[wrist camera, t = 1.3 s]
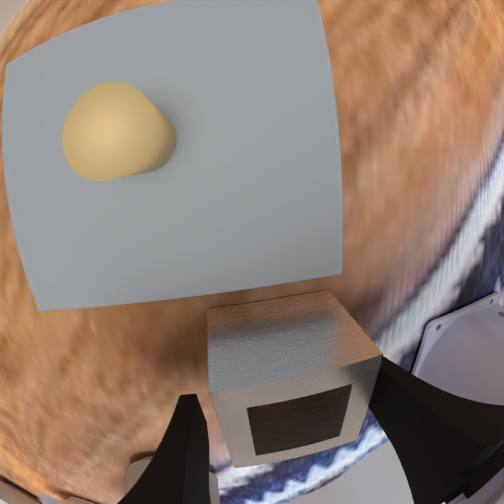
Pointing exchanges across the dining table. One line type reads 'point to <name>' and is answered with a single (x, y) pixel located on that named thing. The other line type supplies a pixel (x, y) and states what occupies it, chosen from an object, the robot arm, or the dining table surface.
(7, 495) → the serving bowl
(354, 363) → the collar
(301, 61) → the post block
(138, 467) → the can
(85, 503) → the lidded bowl
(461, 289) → the dining table surface
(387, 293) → the dining table surface
